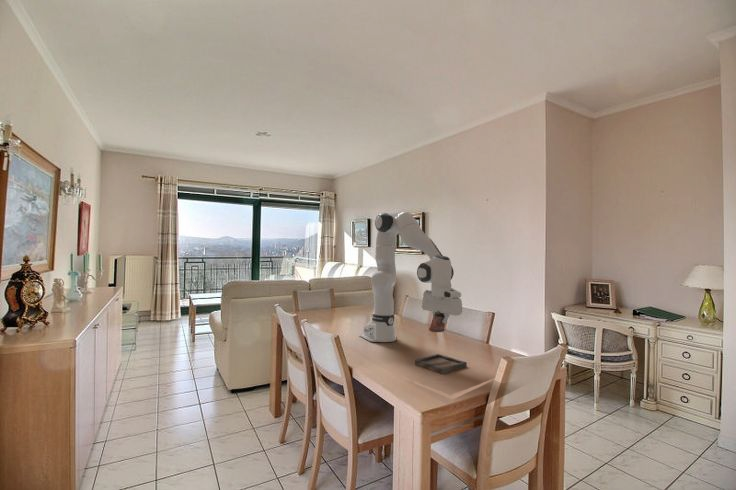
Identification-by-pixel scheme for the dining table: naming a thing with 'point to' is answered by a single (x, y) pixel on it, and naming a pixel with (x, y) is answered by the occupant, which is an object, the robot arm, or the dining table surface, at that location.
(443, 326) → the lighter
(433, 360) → the dark brown tray
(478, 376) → the dining table surface
